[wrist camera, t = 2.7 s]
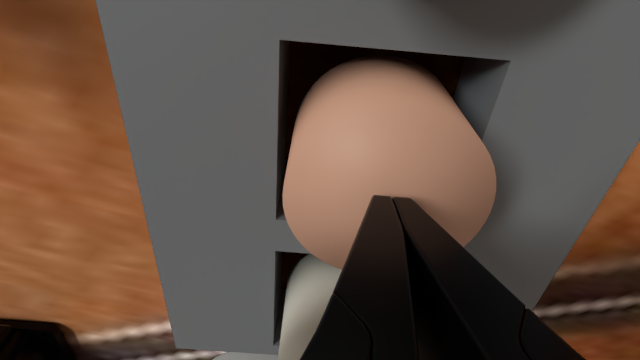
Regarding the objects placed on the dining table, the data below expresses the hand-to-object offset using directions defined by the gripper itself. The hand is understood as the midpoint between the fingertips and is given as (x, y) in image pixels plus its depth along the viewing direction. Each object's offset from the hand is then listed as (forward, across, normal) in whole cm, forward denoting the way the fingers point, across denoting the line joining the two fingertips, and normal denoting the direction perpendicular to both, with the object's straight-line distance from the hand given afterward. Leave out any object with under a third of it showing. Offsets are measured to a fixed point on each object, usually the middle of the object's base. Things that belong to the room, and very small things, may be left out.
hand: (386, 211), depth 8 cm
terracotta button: (+4, 0, 0) cm, 4 cm away
